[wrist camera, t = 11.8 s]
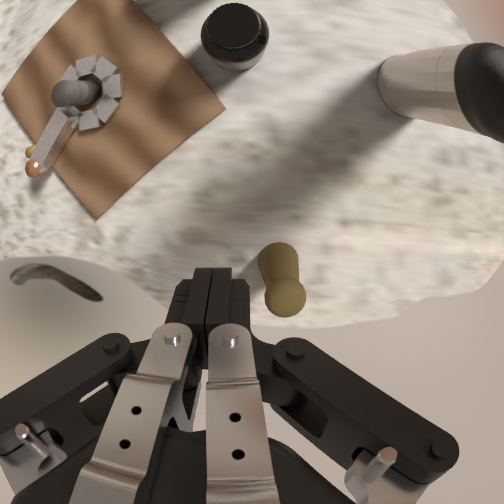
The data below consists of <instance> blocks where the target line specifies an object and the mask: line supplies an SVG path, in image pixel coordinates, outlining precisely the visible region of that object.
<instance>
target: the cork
mask: <svg viewBox="0 0 504 504" xmlns="http://www.w3.org/2000/svg"><path fill="white" fill-rule="evenodd" d="M258 262H259V267H260V270H261V273H262V276H263V279H264V282H265V285H266V287H267V289H266V292H265V295H264V296H265V304H266V306H267V308H268V310H269V311H270V312H271V313H273V314H274V315H276V316H279V317H291V316H293V315H296V314H297V313H299V312H300V311H301V309H302V308H303V307H304V305H305V302H306V292H305V289H304V287H303V285H302V284H301V283H300V282H299V265H298V255H297V252H296V250H295V249H294V248H293V247H292V246H290V245H288V244H286V243H281V242H280V243H273V244H270V245H268V246H267V247H265V248H264V249H263V250H262V252H261V253H260V255H259V259H258Z"/></svg>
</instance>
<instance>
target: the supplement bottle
mask: <svg viewBox="0 0 504 504" xmlns="http://www.w3.org/2000/svg"><path fill="white" fill-rule="evenodd" d="M268 39H269V28H268V25H267V22H266V20H265V19H264V18H263V16H262V15H261V14H260V13H258V12H257V11H256V10H254V9H252V8H250V7H248V6H247V5H244V4H239V3H230V4H225V5H221V6H220V7H218V8H217V9H216V10H214V11H213V13H212V14H210V15H209V16H208V17H207V19H206V20H205V22H204V24H203V26H202V29H201V41H202V44H203V47H204V49H205V50H206V52H207V53H208V54H209V56H210V57H211V58H212V59H213V61H214V62H215V63H216V64H217V65H219V66H220V67H222V68H224V69H226V70H230V71H242V70H246V69H249V68H251V67H253V66H254V65H255V64H257V63H258V62H259V60H260V59H261V57H262V56H263V54H264V51H265V48H266V46H267V43H268Z"/></svg>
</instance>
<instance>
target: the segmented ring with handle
mask: <svg viewBox="0 0 504 504" xmlns="http://www.w3.org/2000/svg"><path fill="white" fill-rule="evenodd" d="M119 69H120V68H119V67H118V66H117V65H115V64H114V63H113V62H112V61H110V60H109V59H108V58H106V57H105V56H101V57H100V58H99V55H93V56H89V57H85V58H82V59H79V60H76V66H75V65H70V66H69V67H68V69H67V70H66V72H65V73H64V75H63V76H62V78H61V79H60V81H62V80H79V81H80V80H81V79H82V77H84V76H88V75H91V74H94V75H95V76H97V77H98V78H99V79H100V80H102V81H103V97H102V99H101V100H100V101H99V103H98V104H97V106H96V107H95V109H92V110H88V111H83V110H82V109H81V108H80V107H79V106H77V105H75V106H67V107H57V109H56V110H55V112H54V114H53V115H52V117H51V119H50V121H49V122H48V124H47V126H46V128H45V130H44V132H43V134H42V135H41V137H40V139H39V141H38V143H37V145H36V147H35V149H34V151H33V153H32V155H31V158H30V160H29V161H28V162H27V163H26V166H25V171H26V174H27V175H28V176H29V177H31V178H33V177H35V176H37V175H39V174H41V173H43V172H45V171H47V170H49V169H51V168H52V167H53V166H54V164H55V162H56V160H57V158H58V156H59V155H60V153H61V151H62V149H63V148H64V146H65V144H66V142H67V141H68V139H69V137H70V136H71V134H72V132H73V131H74V129H77V128H78V127H79V131H81V130H85V129H90V128H96V127H100V126H102V121H103V122H104V123H107V122H108V121H109V120H110V119H111V117H112V116H113V114H114V113H115V112H116V110H117V109H118V108H119V106H120V105H121V103H120V102H119V101H118V100H117V99H115V98H119V97H124V91H123V74H116V73H117V71H118V70H119Z"/></svg>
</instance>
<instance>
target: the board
mask: <svg viewBox="0 0 504 504" xmlns="http://www.w3.org/2000/svg"><path fill="white" fill-rule="evenodd" d="M93 55H99V58H100V57H101V56H105V57H106V58H108V59H109V60H110V61H112V62H113V63H114V64H115V65H117V66H118V67H119V68H120V69H119V70H118V71H117V73H116V74H123V91H124V97H119V98H115V99H117V100H118V101H119V102H120V103H121V105H120V106H119V108H118V109H117V110H116V112H115V113H114V114H113V116H112V117H111V119H110V120H109V121H108V122H107V123H104V122H103V121H102V126H100V127H96V128H90V129H85V130H81V131H79V127H78V128H77V129H74V131H73V132H72V134H71V136H70V137H69V139H68V141H67V142H66V144H65V146H64V148H63V149H62V151H61V153H60V155H59V156H58V158H57V160H56V162H55V164H54V166H53V167H54V169H55V170H56V171H57V173H58V174H59V175H60V176H61V178H62V179H63V180H64V181H65V183H66V184H67V185H68V186H69V188H70V189H71V190H72V191H73V192H74V194H75V195H76V196H77V197H78V198H79V200H80V201H81V202H82V203H83V204H84V206H85V207H86V208H87V209H88V210H89V211H90V213H91V214H92V215H93V216H94V217H95V218H96V219H98V218H99V217H100V216H101V215H102V214H103V213H104V212H105V211H106V210H107V209H108V208H109V207H110V206H111V205H112V204H113V203H114V202H115V201H116V200H117V199H118V198H119V197H120V196H121V195H122V194H124V193H125V192H126V191H127V190H128V189H129V188H130V187H131V186H132V185H133V184H134V183H135V182H136V181H138V180H139V179H140V178H141V177H142V176H143V175H144V174H145V173H147V172H148V171H149V170H150V169H151V168H152V167H153V166H154V165H156V164H157V163H158V162H159V161H160V160H161V159H163V158H164V157H165V156H166V155H167V154H169V153H170V152H171V151H172V150H173V149H175V148H176V147H177V146H178V145H179V144H181V143H182V142H183V141H184V140H186V139H187V138H188V137H189V136H191V135H192V134H193V133H195V132H196V131H197V130H198V129H200V128H201V127H202V126H204V125H205V124H206V123H208V122H209V121H210V120H212V119H213V118H214V117H216V116H217V115H218V114H220V113H221V112H222V111H224V110H225V109H226V108H225V107H224V105H223V104H222V103H221V102H220V100H219V99H218V98H217V97H216V95H215V94H214V93H213V92H212V90H211V89H210V88H209V87H208V85H207V84H206V83H205V82H204V81H203V79H202V78H201V77H200V76H199V75H198V73H197V72H196V71H195V70H194V69H193V67H192V66H191V65H190V64H189V63H188V61H187V60H186V59H185V58H184V57H183V56H182V54H181V53H180V52H179V51H178V50H177V49H176V48H175V46H174V45H173V44H172V43H171V42H170V41H169V40H168V38H167V37H166V36H165V35H164V34H163V33H162V32H161V31H160V29H159V28H158V27H157V26H156V25H155V24H154V23H153V22H152V21H151V20H150V19H149V17H148V16H147V15H146V14H145V13H144V12H143V11H142V10H141V9H140V8H139V7H138V6H137V5H136V4H135V3H134V2H133V0H77V1H76V2H75V3H74V4H73V5H72V6H71V7H70V8H69V9H68V10H67V11H66V12H65V13H64V14H63V15H62V16H61V18H60V19H59V20H58V21H57V22H56V23H55V24H54V25H53V26H52V27H51V29H50V30H49V31H48V32H47V33H46V34H45V35H44V37H43V38H42V39H41V40H40V41H39V43H38V44H37V45H36V46H35V48H34V49H33V50H32V51H31V53H30V54H29V55H28V56H27V58H26V59H25V60H24V62H23V63H22V64H21V66H20V67H19V69H18V70H17V71H16V73H15V74H14V76H13V77H12V79H11V80H10V82H9V83H8V85H7V86H6V88H5V89H4V91H3V92H2V96H3V97H4V99H5V100H6V102H7V103H8V105H9V106H10V108H11V109H12V111H13V112H14V114H15V115H16V117H17V118H18V120H19V121H20V123H21V124H22V125H23V127H24V128H25V130H26V131H27V133H28V134H29V135H30V137H31V138H32V140H33V141H34V142H35V144H36V145H37V143H38V141H39V139H40V137H41V135H42V134H43V132H44V130H45V128H46V126H47V124H48V122H49V121H50V119H51V117H52V115H53V114H54V112H55V110H56V109H57V107H67V106H75V105H77V106H79V107H80V108H81V109H82V110H83V111H88V110H92V109H95V107H96V106H97V104H98V103H99V101H100V100H101V99H102V97H103V81H102V80H100V79H99V78H98V77H97V76H95V75H94V74H91V75H88V76H84V77H82V79H81V80H80V81H79V80H62V81H60V79H61V78H62V76H63V75H64V73H65V72H66V70H67V69H68V67H69V66H70V65H75V66H76V60H79V59H82V58H85V57H89V56H93ZM36 145H33V146H30V147H28V148H27V149H26V151H25V154H26V157H27V158H31V155H32V153H33V151H34V149H35V147H36Z"/></svg>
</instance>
